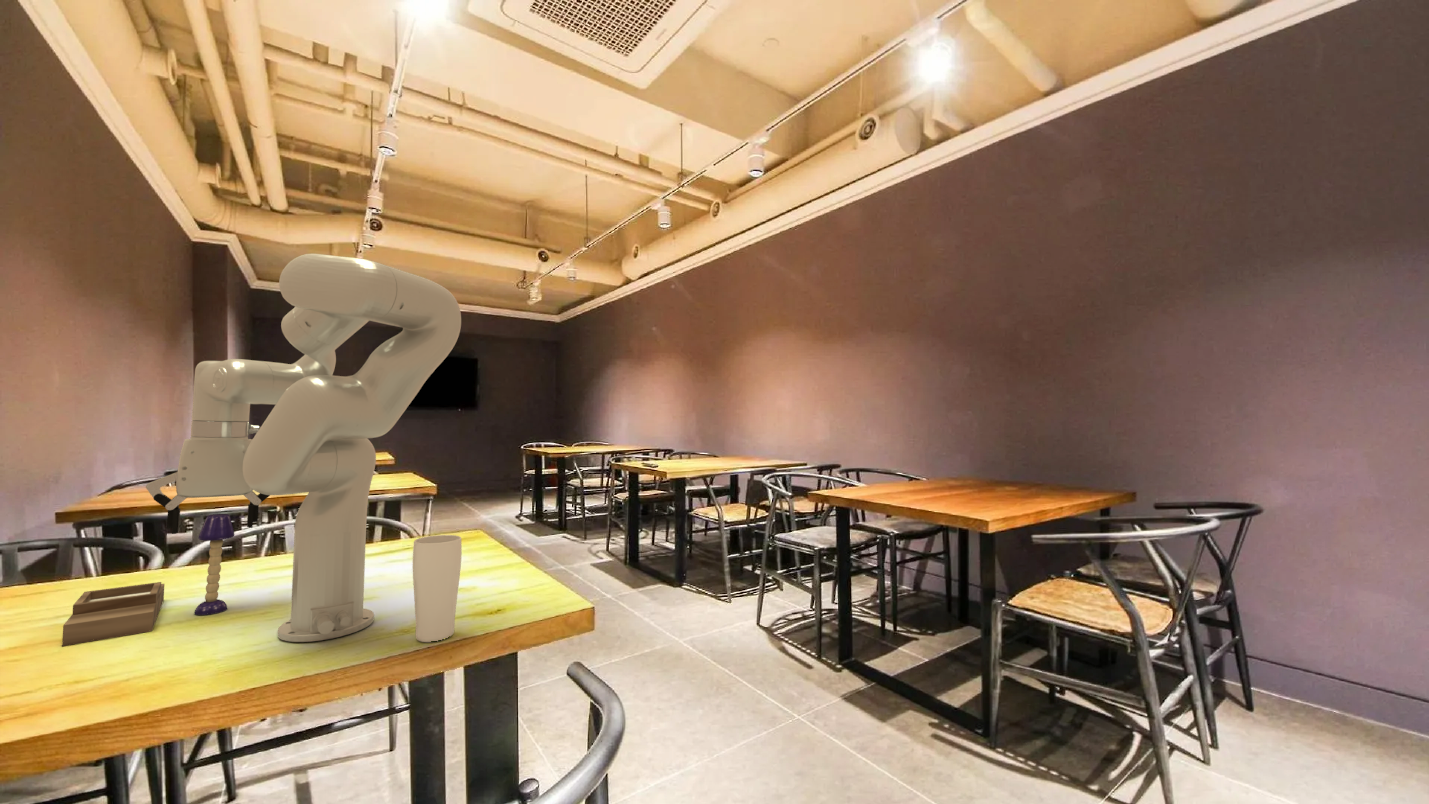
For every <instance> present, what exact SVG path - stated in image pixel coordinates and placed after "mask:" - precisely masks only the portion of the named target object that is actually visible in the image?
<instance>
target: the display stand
mask: <svg viewBox="0 0 1429 804" xmlns="http://www.w3.org/2000/svg"><path fill="white" fill-rule="evenodd" d="M164 598H165V583H162V582H161V581H158V582H151V583H141V584H135V585H127V586H120V587H113V588H104V589H103V588H102V589H96V590H90V591H88V590H86V591H84V592H83V593H82V594H81V596H79V597H78V598H77V600H76V601H75V602H74V604H73V605H72V614H71V615H70V616H69V618H68V619H67V620H66V621H65V623H64V624H63V625H62V641H61V647H65V646H66V647H67V646H71V645H77V644H84V643H88V642H95V641H101V640H108V639H113V638H120V637H126V636H130V635H135V634H143V633H147V632H148V633H149V632H153V629H154V627H155V624H156V622H157V619H158V616H159V613H160V611H161V608H162V605H163V604H164V600H165V599H164Z"/></svg>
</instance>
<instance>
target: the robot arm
mask: <svg viewBox="0 0 1429 804" xmlns="http://www.w3.org/2000/svg"><path fill="white" fill-rule="evenodd" d="M278 281H279V283H278V286H279V293H281V296H282V298H283V299H284V300H285V302H287V303H288V304H290V305H291V306H293V307H294V308H292V309H291V310H290V311H288V312H287V314H285V315H284V316H283V317H282V320H281V322H280V323H281V325H280V327H281V333H282V334H283V336H284V337H285V339H286V340H287V341H288V342H289V344H291V345H292V347H294V348H295V349H296V350H298V351H299V352H301V353H302V354H303V355H302V356H301V357H300V358H299V359H298V360H296V361H295V362H293V363H291V364H290V363H289V364H288V363H283V362H273V361H264V360H253V359H252V360H251V359H241V358H231V359H225V360H202V361H200V362H199V363H197V365H196V366H195V369H194V379H193V381H194V382H193V383H194V384H193V395H192V396H193V397H192V410H191V411H192V413H191V424H190V427H191V428H190V438H185V439H184V441H183V444H182V447H181V450H180V454H179V460H178V466H177V471H176V472H174V473H171V474H169V475H166V476H164V477H160V478H158V479H156V480H153V481H151V482H148V483H147V484H146V485H145V489H146V490H147V492H148V493H149V494H150V496H151V497H152V498H153V501H155V502H156V503H158V504H160V505H161V506H162V507H163V508H165V509H166V510H167V515H166V516H167V518H166V529H171V534H172V535H175V534H178V533H179V531H180V523H181V522H180V521H181V518H180V517H181V508H180V504H181V503H182V502H184V501H185V500H186V499H187V498H188V499H190V498H191V499H197V498H216V497H217V498H218V497H237V496H244V497H245V498H246V499H247V500H248V501H249V504H248V506H247V518H246V520H247V521H246V527H247V528H248V529H252V528H253V527H254V525H253V523H258V521H259V507H260V505H261V504H262V502H264V501H265V500H266V499H268V498H269V497H270V496H285V495H295V494H305V493H307V495H306V496H305V498H304V499H303V501H302V503H301V505H300V506H299V508H298V511H297V514H296V516H295V520H294V521H295V522H294V536H293V558H292V559H293V561H292V579H291V580H292V581H291V583H292V584H291V585H292V586H291V587H292V588H291V606H290V607H291V608H290V609H291V610H290V619H288V620H286V621H284V622H283V623H282V624H281V625H279V626H278V628H277V637H278V638H279V640H282V641H286V642H291V643H309V642H319V641H325V640H332V639H336V638H340V637H344V636H348V635H351V634H354V633H356V632H359V631H362V630H364V629H365V628H368V627H369V626H370V625H372V624H373V622H374V619H375V614H374V612H373V610H371V609H368V608H364V597H365V596H364V595H365V594H364V593H365V569H366V566H365V565H366V543H367V542H366V540H367V539H366V538H367V522H368V521H367V519H368V518H367V517H368V502H369V495H370V489H371V485H372V481H373V476H374V474H375V473H374V472H375V468H376V463H377V454H376V453H377V452H376V449H375V447H374V445H373V443H372V442H371V441H370V440H369V439H373V438H379V437H382V436H384V435H386V434H387V433H388V432H390V430H392V429H393V427H394V426H395V425H396V424H397V422H398V421H399V419H400V418H402V417H401V416H402V415H403V414H404V413H405V411H406V410H407V408H408V407H409V405H411V403H412V401H413V400H414V399H415V397H416V396H417V395H418V393H419V392H420V390H421V389H422V387H423V386H424V384H425V383H426V381H427V380H428V379H429V378H430V377H431V375H432V374H433V373H434V372H435V370H436V369H437V368H438V367H439V366H440V365H441V364H442V363H443V362H444V360H445V359H446V358H447V357H448V356H449V354H450V353H451V352H452V350H453V348H454V347H455V345H456V343H457V341H458V338H459V336H460V333H461V327H462V313H461V309H460V305H459V303H458V301H457V299H456V297H455V296H454V295H453V293H451V291H450V290H448V289H447V288H445V286H443V285H441V284H439V283H437V282H435V281H434V280H431V279H428V278H427V277H423V276H421V275H417V274H414V273H411V272H407V271H404V270H401V269H399V268H395V267H392V266H389V265H386V264H383V263H380V262H377V261H373V260H370V259H366V258H360V257H359V258H357V257H352V256H351V257H350V256H349V257H348V256H337V255H329V254H322V253H305V254H302V255H299V256H297V257H295V258H293V259H291V260H290V261H289V262H288V263H287V264H286V265H285V267H284V268H283V269H282V270H281V272H280V275H279V280H278ZM368 322H374V323H378V324H384V325H388V326H394V327H399V328H402V331H400V332H398V334H396V335H394V336H392V337H391V338H389V339H387V340H385V341H384V342H383V343H381V344H380V345H379V346H378V347H376V348H375V349H374V350H373V351H372V352H371V354H369V356H368V358H367V359H366V360H365V362H364V364H363V365H362V367H361V368H360V369H359V370H358V371H357V372H355V373H354V374H353V375H347V376H342V375H341V376H340V375H334V372H335V367H336V363H337V356H336V354H337V353H336V350H337V349H339V347H341V345H343V344H344V343H345V342H346V341H347V340H348V339H350V338H351V337H352V336H354V334H355V333H357V332H358V331H359V330H360V329H362V327H364V326H365V325H366V324H367V323H368ZM251 405H274V407H273V408H272V409H271V411H270V413H269V414H268V416H267V417H266V419H265V420H264V422H263V423H262V425H261V426H260V425H254V424H251V423H249V422H250V410H251V409H250V408H251ZM251 434H252V435H253V434H255V435H254V437H253V438H252V439H251V438H249V436H250V435H251ZM175 482H176V484H175V486H176V487H175V488H176V490H175V491H176V495H175V496H174V497H172V498H170V497H168V496H167V495H166V494H164V492H163V491H162V490H161V488H162V487H164V486H166V485H168V484H171V483H175ZM254 491H255V492H254ZM256 493H258V494H256Z"/></svg>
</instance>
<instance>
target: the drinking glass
mask: <svg viewBox="0 0 1429 804" xmlns="http://www.w3.org/2000/svg"><path fill="white" fill-rule="evenodd" d="M412 548H413V549H412V582H413V583H412V585H413V597H414V615H415V616H414V618H415V638H416V640H417V641H419V642H421V643H432V642H431V641H437V642H439V641H438V640H441V641H443V640H442V639H444V638H447V639H449V638H450V637H452V636H453V635H454V633H455V627H456V625H455V622H456V621H455V619H456V613H457V600H458V593H459V585H460V578H461V567H462V555H463V553H462V537H461V536H460V535H456V534H455V535H454V534H439V535H438V534H437V535H436V534H435V535H428V536H423V537H419V538H417V539H414V541H413V547H412ZM449 636H450V637H449ZM448 637H449V638H448ZM444 640H445V639H444Z"/></svg>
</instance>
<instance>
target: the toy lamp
mask: <svg viewBox="0 0 1429 804" xmlns="http://www.w3.org/2000/svg"><path fill="white" fill-rule="evenodd" d="M232 522H233V521H232V519H231V515H230V514H228V513H214V514H208V515H207V516H206V518H205V520H204V523H203V524H202V527H201V529H200V532H199V534H198V540H199V541H204V542H207V541H209V546H210V549H209V550H208V554H209V558H208V568H207V576H206V583H207V584H206V586H205V591H206V593H205V594H204V599H205V600H204V601H202V602H201V603H199V604H198V605H197V606H196V608H195V609H194V615H196V616H208V615H215V614H219V613H222V612H225V611H227V610H228V605H227V602H225V601H224V600H222V599H218V598H219V592H218V590H219V589H220V583H219V582H220V580H221V575H220V573H221V571H222V566H221V563H222V553H223V547H222V546H223V544H224V540H228V539H232V538H233V537H235V531H234V527H233V523H232Z"/></svg>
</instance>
